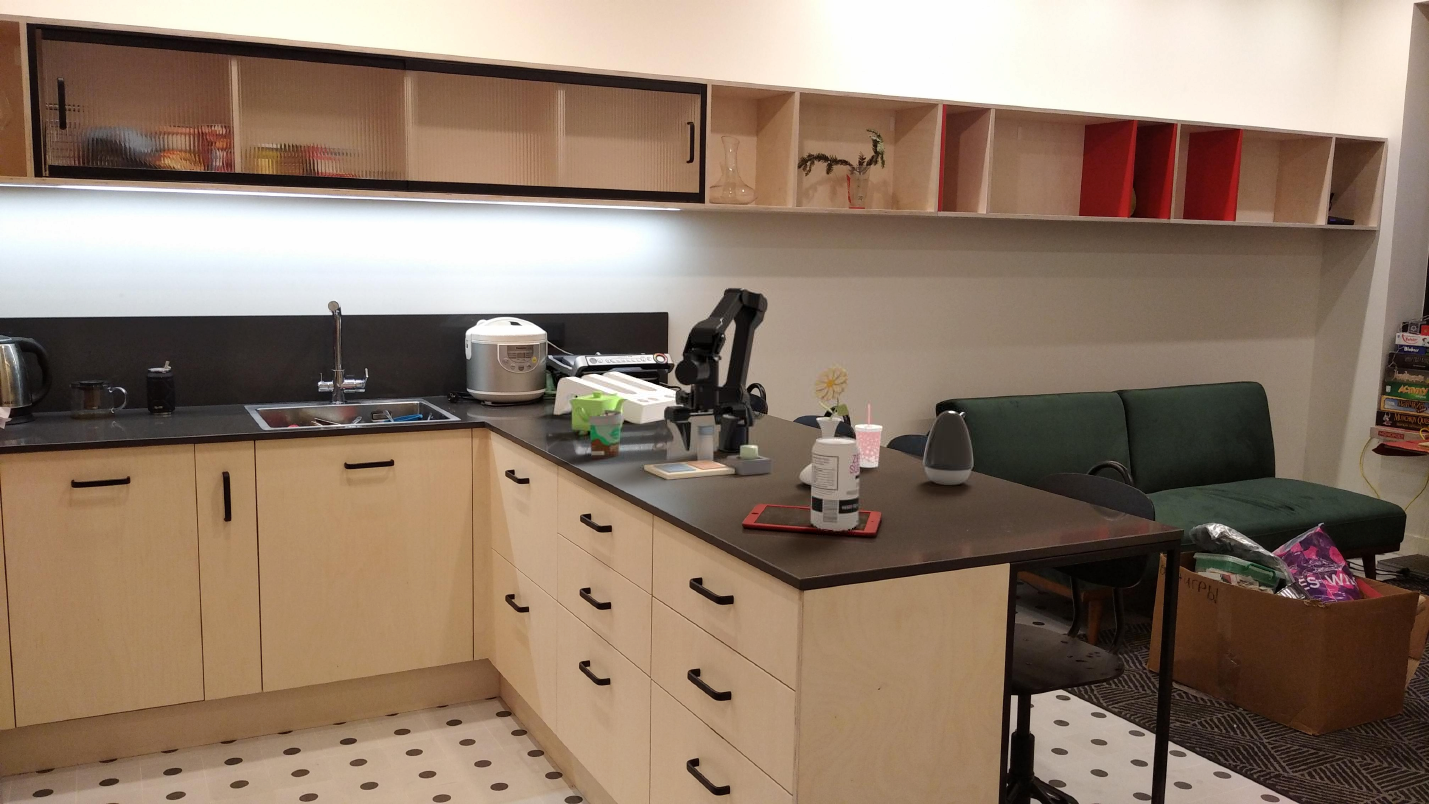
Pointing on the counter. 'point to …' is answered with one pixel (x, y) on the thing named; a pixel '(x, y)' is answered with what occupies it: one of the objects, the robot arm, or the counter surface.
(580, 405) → the kettle
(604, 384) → the bracket
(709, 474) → the picture board
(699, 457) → the capped clear jar
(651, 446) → the counter surface
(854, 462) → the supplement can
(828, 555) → the counter surface
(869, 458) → the beverage cup
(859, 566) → the counter surface
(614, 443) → the food container
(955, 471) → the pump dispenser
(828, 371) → the flower in vase
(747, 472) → the button housing
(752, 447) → the button
